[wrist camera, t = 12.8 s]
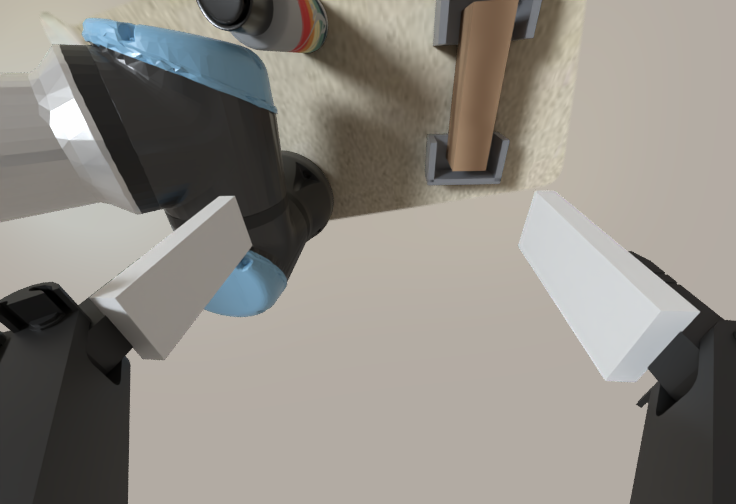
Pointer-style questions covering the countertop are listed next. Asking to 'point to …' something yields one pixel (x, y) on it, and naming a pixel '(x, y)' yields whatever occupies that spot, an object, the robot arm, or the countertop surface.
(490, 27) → the slat
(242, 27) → the lotion bottle
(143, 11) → the countertop surface
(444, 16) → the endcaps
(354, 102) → the countertop surface
